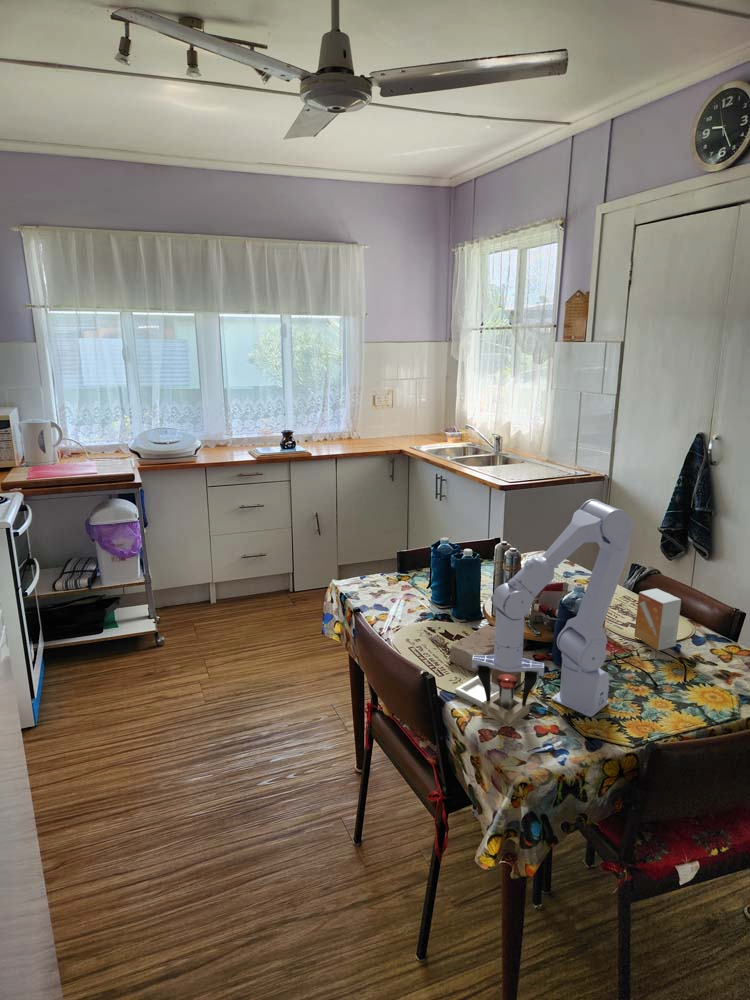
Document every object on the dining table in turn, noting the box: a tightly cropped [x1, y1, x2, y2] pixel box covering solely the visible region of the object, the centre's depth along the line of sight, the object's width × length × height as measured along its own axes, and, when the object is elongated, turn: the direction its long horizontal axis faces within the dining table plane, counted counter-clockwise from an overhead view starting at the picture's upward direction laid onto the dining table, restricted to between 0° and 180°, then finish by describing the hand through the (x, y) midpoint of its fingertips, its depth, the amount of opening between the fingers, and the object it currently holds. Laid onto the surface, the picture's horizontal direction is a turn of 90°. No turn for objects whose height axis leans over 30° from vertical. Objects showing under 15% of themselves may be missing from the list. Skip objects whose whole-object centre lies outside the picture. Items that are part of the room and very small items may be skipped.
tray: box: [454, 675, 499, 709], centre depth 142 cm, size 8×8×2 cm
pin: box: [497, 674, 518, 711], centre depth 134 cm, size 4×4×8 cm
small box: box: [634, 588, 682, 652], centre depth 164 cm, size 8×6×13 cm
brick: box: [449, 624, 495, 672], centre depth 160 cm, size 17×8×5 cm, turn 136°
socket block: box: [481, 692, 531, 728], centre depth 135 cm, size 7×7×2 cm
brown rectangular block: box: [490, 668, 522, 685], centre depth 146 cm, size 4×6×5 cm, turn 134°
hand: (506, 700), depth 135 cm, fingers open, 7 cm apart
